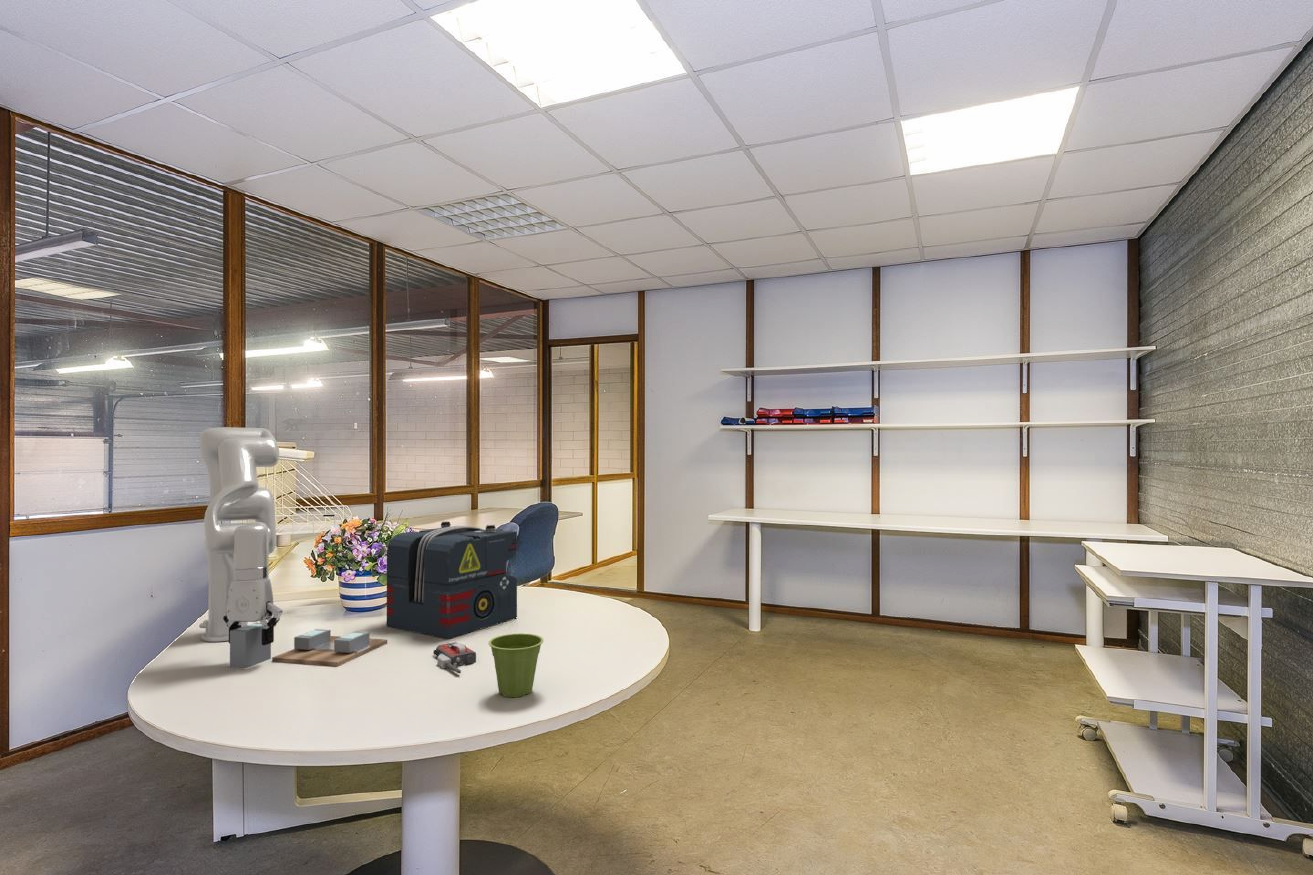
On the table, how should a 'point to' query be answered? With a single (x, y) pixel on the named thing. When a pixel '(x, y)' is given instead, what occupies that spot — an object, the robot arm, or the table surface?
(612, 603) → the table surface
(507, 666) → the plant pot
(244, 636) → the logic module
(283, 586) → the table surface
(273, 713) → the table surface
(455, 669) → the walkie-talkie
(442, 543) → the power unit
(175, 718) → the table surface
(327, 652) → the board
